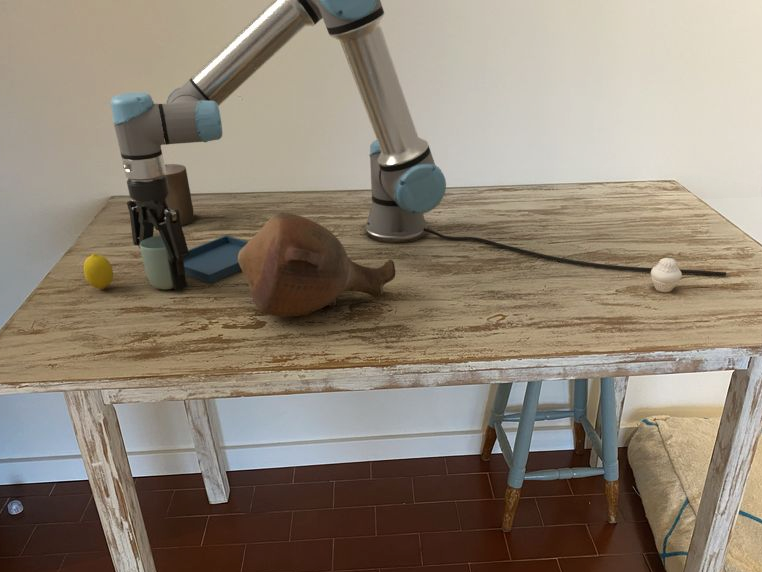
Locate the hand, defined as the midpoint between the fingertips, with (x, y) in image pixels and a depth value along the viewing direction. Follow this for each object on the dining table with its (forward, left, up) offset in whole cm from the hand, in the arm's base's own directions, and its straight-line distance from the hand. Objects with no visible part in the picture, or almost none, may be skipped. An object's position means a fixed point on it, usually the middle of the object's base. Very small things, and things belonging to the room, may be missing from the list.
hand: (167, 282), depth 151 cm
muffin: (-87, -58, -1) cm, 105 cm away
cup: (0, 0, -1) cm, 1 cm away
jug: (-34, -11, -1) cm, 36 cm away
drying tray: (+1, -15, -1) cm, 15 cm away
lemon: (+10, +9, -1) cm, 13 cm away
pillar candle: (+32, -27, -1) cm, 42 cm away
